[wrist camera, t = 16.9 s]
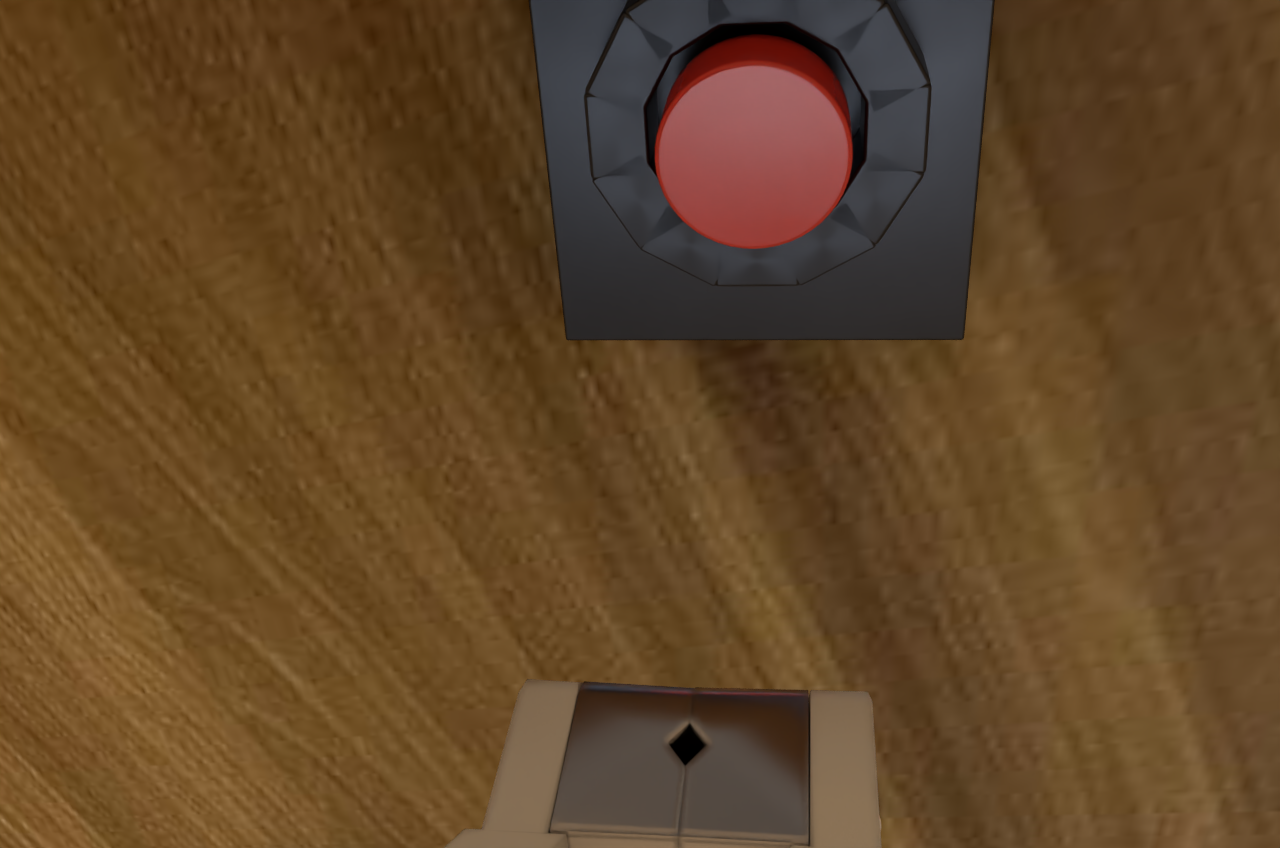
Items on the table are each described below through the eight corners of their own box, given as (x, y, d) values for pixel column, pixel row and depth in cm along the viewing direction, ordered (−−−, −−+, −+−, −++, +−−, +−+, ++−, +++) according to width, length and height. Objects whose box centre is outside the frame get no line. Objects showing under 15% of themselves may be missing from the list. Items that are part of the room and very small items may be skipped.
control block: (530, -200, 24) (486, -171, 21) (997, -228, 23) (1030, -202, 20) (580, 297, 30) (552, 381, 27) (953, 295, 29) (973, 382, 26)
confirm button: (658, 36, 23) (648, 64, 21) (853, 29, 22) (856, 57, 21) (668, 214, 25) (659, 252, 23) (847, 212, 24) (850, 249, 23)
